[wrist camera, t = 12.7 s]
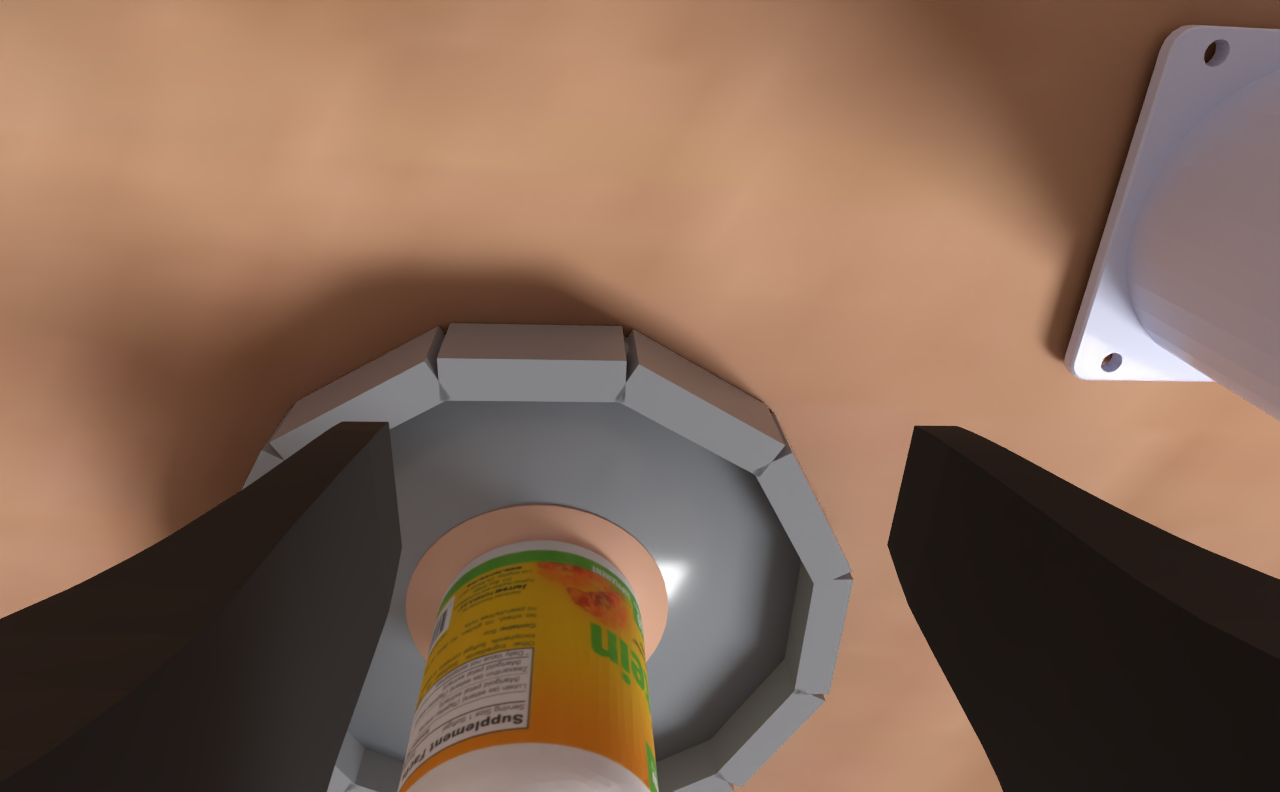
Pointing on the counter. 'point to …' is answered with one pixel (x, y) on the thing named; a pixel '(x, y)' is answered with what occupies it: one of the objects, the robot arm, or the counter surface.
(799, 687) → the round tray
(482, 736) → the supplement bottle
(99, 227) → the counter surface
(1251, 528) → the counter surface
